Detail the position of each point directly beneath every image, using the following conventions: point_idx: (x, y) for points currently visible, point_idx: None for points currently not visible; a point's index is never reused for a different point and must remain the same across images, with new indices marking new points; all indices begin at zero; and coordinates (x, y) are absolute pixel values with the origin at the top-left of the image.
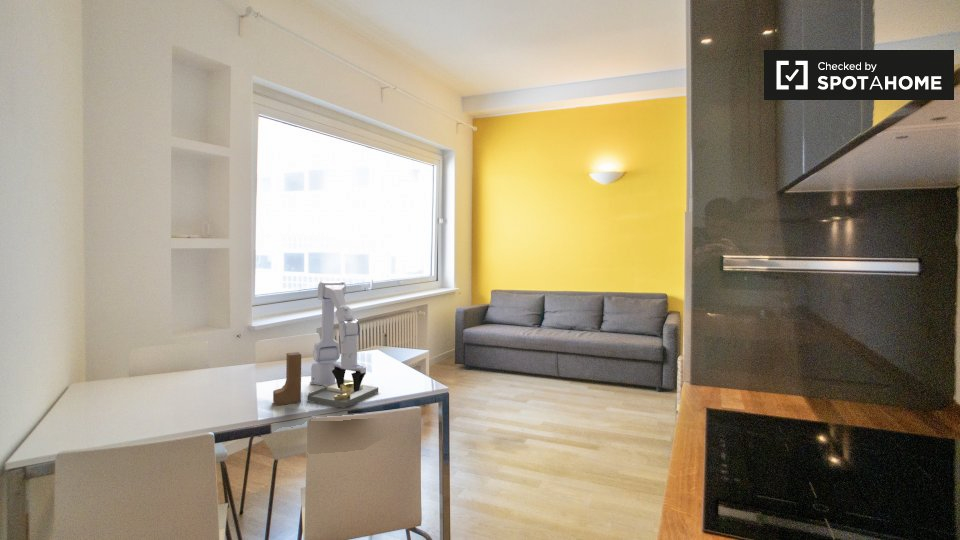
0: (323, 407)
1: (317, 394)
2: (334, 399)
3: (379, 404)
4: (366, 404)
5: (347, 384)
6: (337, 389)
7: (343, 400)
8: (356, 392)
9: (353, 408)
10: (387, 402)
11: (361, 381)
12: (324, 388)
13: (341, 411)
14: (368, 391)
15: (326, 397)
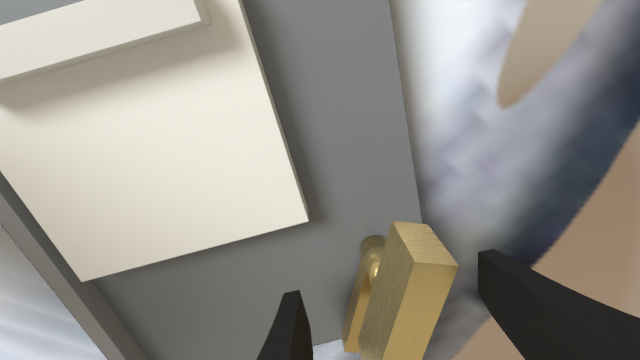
0: (325, 348)
1: (165, 346)
2: (339, 325)
3: (571, 101)
4: (490, 165)
5: (422, 354)
6: (196, 249)
7: None
8: (324, 134)
9: (469, 259)
10: (605, 20)
11: (591, 302)
12: (78, 286)
13: (448, 320)
14: (387, 28)
15: (265, 337)
